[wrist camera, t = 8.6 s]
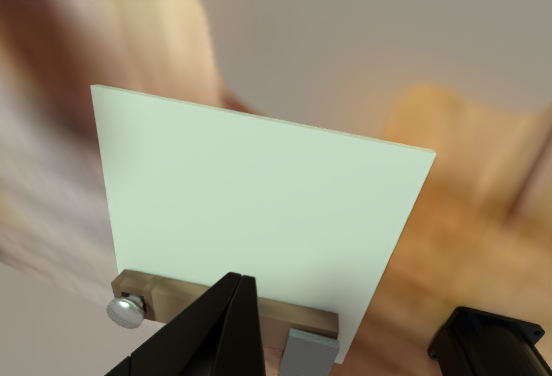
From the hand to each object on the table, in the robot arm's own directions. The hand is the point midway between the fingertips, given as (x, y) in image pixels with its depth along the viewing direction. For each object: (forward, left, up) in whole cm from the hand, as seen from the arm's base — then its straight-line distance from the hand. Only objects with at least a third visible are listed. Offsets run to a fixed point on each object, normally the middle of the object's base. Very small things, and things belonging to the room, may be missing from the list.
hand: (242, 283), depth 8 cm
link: (+3, +15, -11) cm, 19 cm away
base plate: (+3, +9, -12) cm, 15 cm away
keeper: (-5, +17, -12) cm, 21 cm away
